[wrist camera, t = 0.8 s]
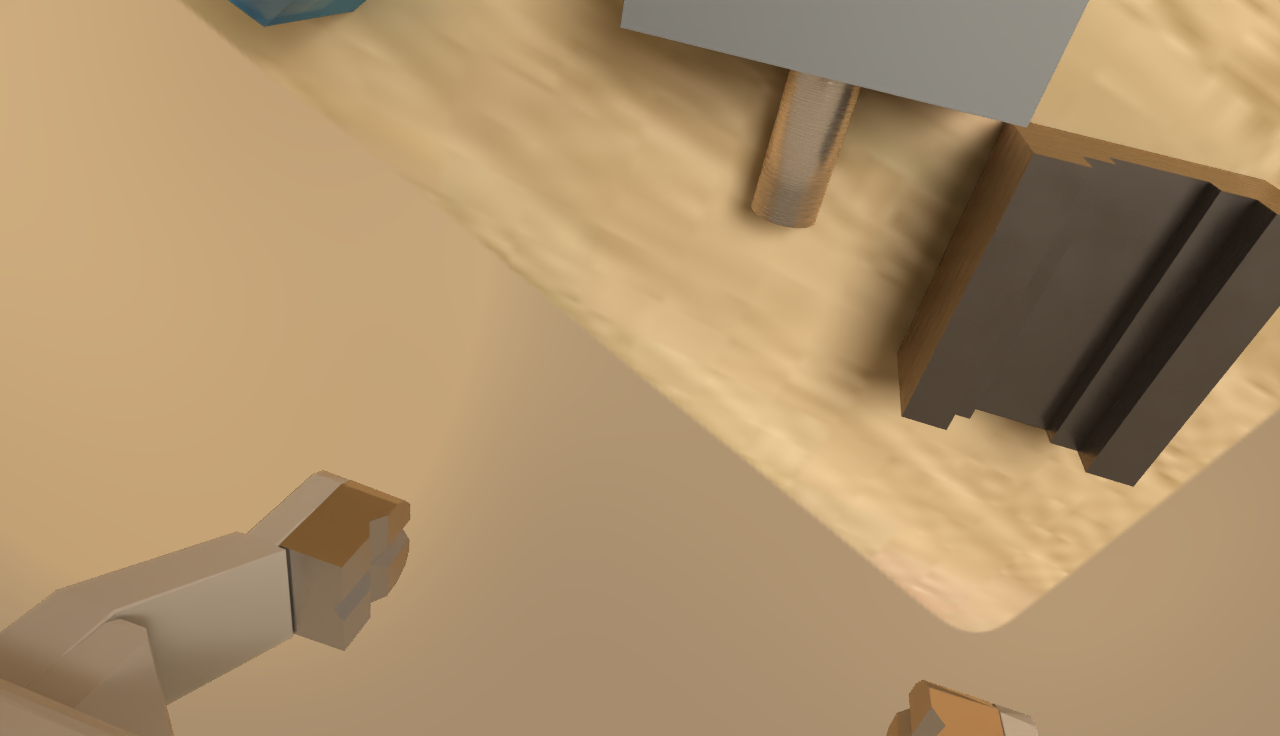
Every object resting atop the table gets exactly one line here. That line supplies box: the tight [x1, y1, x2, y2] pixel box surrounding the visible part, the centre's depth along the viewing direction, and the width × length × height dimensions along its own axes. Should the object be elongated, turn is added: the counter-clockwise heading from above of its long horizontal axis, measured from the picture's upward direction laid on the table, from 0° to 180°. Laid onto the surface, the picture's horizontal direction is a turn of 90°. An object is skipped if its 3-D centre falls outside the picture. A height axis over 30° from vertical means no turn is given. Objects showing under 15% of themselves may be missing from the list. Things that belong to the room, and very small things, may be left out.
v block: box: [897, 123, 1280, 487], centre depth 30 cm, size 12×10×6 cm
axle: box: [751, 69, 861, 228], centre depth 29 cm, size 12×3×3 cm, turn 170°
